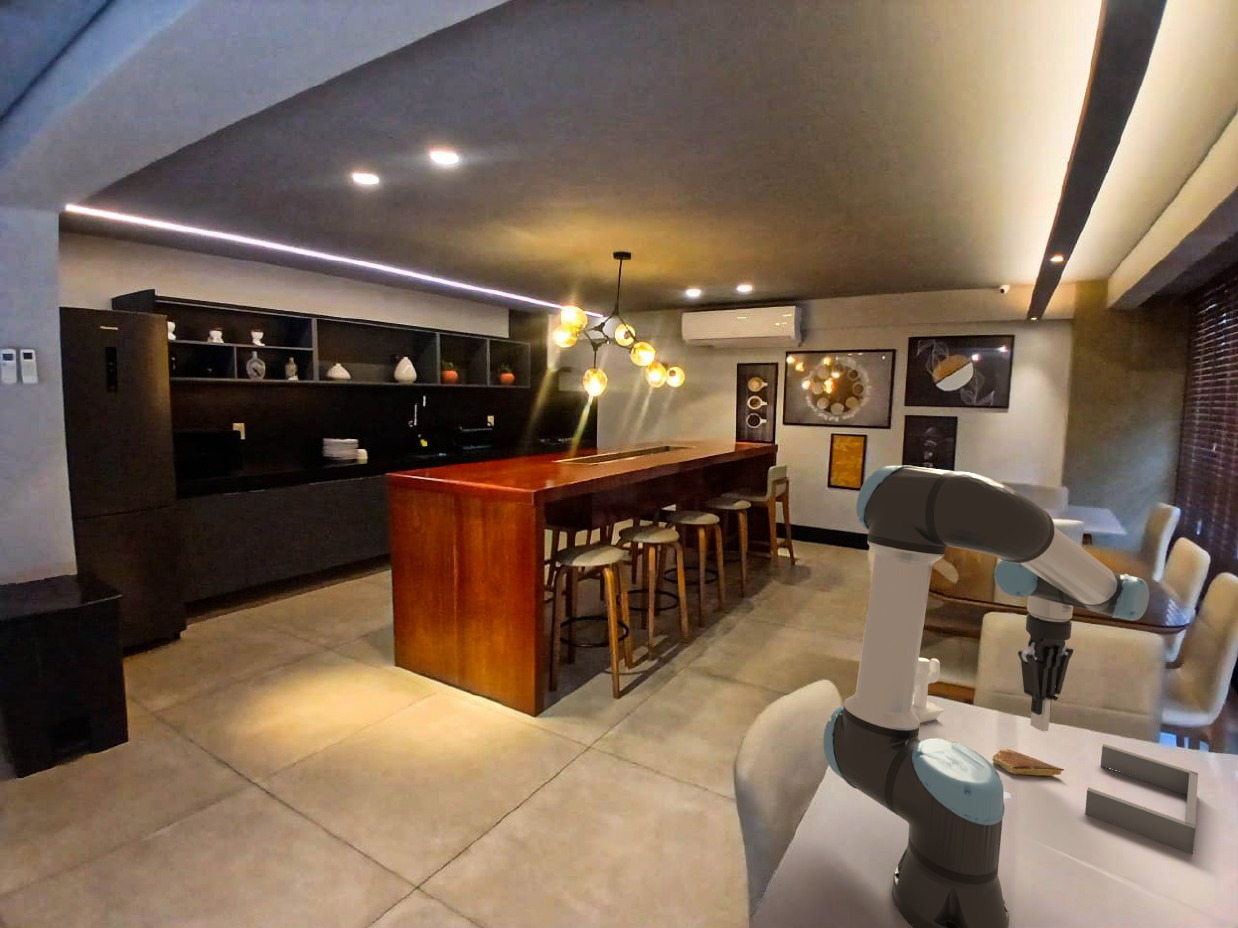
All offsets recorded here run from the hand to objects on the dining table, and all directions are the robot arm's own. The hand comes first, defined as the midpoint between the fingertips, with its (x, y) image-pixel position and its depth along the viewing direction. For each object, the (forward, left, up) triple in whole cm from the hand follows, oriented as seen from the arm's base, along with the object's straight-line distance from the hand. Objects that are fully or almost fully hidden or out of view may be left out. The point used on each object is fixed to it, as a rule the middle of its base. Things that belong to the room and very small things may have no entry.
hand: (1039, 727), depth 127 cm
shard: (+1, 0, -10) cm, 10 cm away
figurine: (-8, +23, -9) cm, 26 cm away
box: (+8, -16, -9) cm, 19 cm away
